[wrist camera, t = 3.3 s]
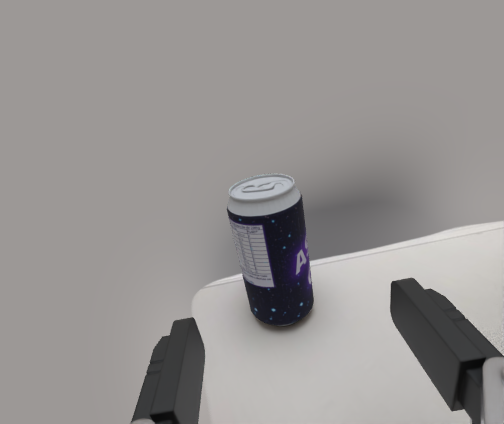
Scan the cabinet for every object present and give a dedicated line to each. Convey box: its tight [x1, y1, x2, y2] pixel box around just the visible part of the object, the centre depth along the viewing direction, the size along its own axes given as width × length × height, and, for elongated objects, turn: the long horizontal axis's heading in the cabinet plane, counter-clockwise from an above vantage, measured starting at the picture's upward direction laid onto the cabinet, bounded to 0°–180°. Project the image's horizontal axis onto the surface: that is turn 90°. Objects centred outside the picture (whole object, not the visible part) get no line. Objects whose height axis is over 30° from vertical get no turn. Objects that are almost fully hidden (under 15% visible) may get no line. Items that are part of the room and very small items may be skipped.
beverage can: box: [227, 174, 314, 326], centre depth 23 cm, size 6×6×12 cm
